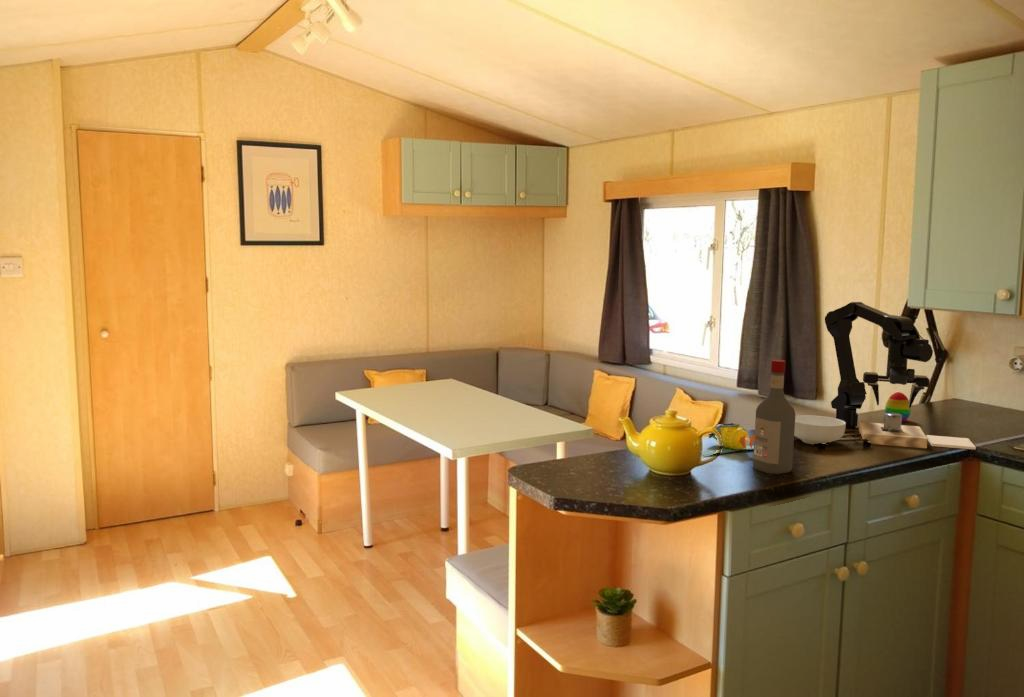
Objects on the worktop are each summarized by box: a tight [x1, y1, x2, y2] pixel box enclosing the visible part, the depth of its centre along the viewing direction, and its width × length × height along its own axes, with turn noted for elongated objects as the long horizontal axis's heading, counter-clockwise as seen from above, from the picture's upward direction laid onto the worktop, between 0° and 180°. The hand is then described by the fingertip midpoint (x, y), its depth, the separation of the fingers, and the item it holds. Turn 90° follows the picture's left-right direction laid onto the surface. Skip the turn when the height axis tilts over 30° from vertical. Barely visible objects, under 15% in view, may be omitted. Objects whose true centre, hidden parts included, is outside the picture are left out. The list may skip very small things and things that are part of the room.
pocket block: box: [858, 421, 928, 449], centre depth 270 cm, size 18×18×3 cm
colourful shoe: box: [701, 422, 755, 458], centre depth 253 cm, size 28×9×15 cm
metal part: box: [883, 413, 902, 433], centre depth 270 cm, size 5×5×8 cm
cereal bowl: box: [794, 414, 846, 445], centre depth 265 cm, size 17×17×7 cm
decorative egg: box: [884, 391, 912, 423], centre depth 298 cm, size 8×8×10 cm
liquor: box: [752, 359, 796, 475], centre depth 231 cm, size 9×9×30 cm
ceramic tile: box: [925, 434, 977, 451], centre depth 266 cm, size 12×12×1 cm
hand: (893, 406), depth 269 cm, fingers open, 9 cm apart
